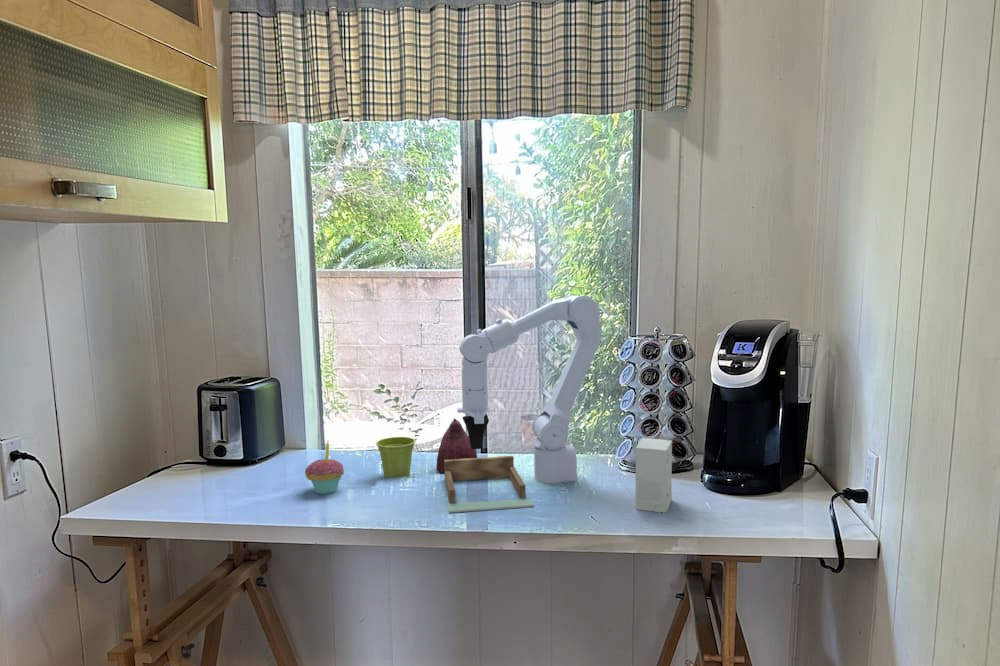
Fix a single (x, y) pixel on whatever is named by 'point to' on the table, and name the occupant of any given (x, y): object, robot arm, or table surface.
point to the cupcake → (325, 474)
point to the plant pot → (396, 456)
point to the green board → (489, 505)
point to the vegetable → (454, 446)
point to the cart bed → (481, 472)
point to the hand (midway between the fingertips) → (476, 448)
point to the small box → (653, 475)
